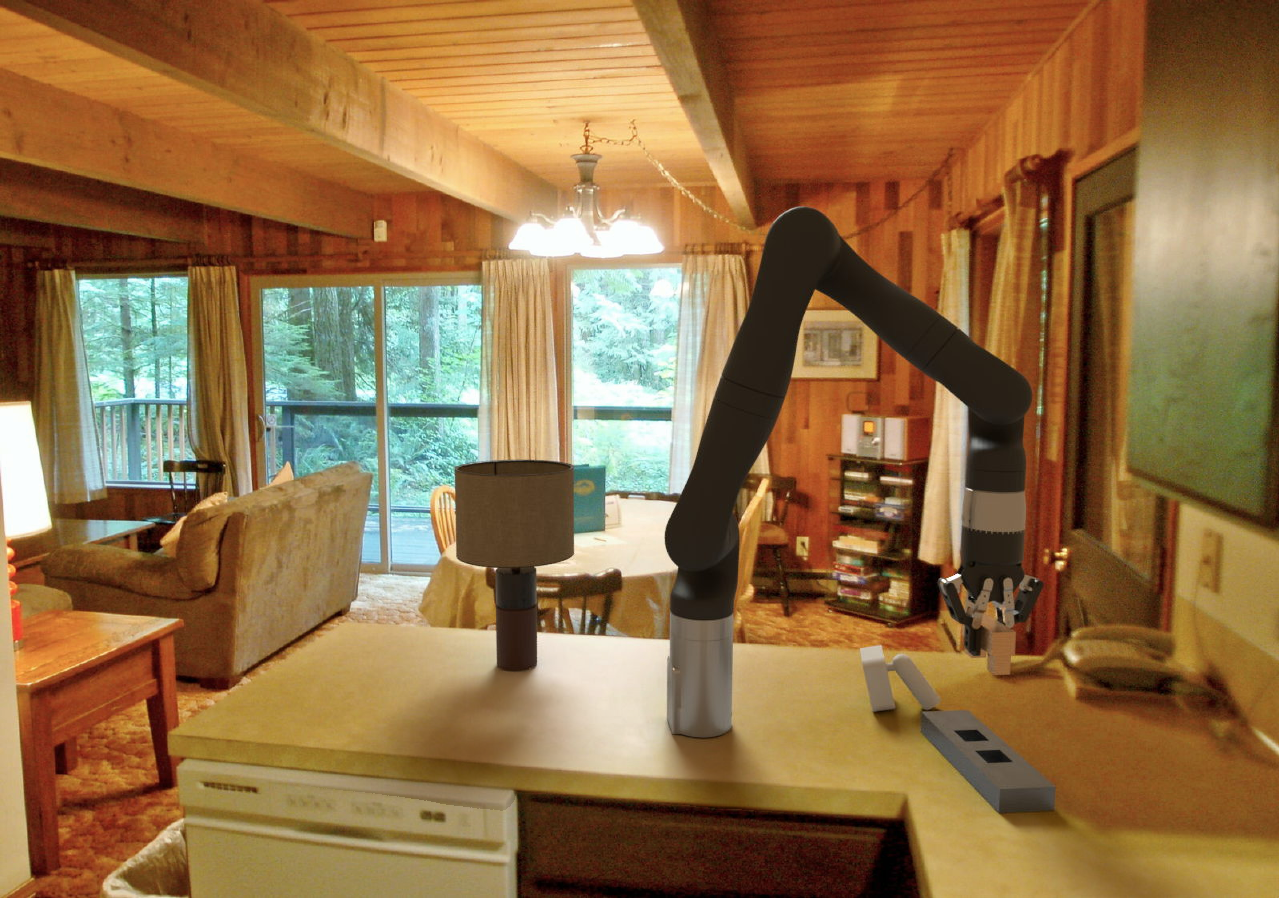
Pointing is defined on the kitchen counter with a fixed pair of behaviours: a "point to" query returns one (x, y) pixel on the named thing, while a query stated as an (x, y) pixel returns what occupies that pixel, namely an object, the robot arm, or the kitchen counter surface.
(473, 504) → the lamp
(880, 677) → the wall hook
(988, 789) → the rail
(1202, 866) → the kitchen counter surface
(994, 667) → the wooden block
